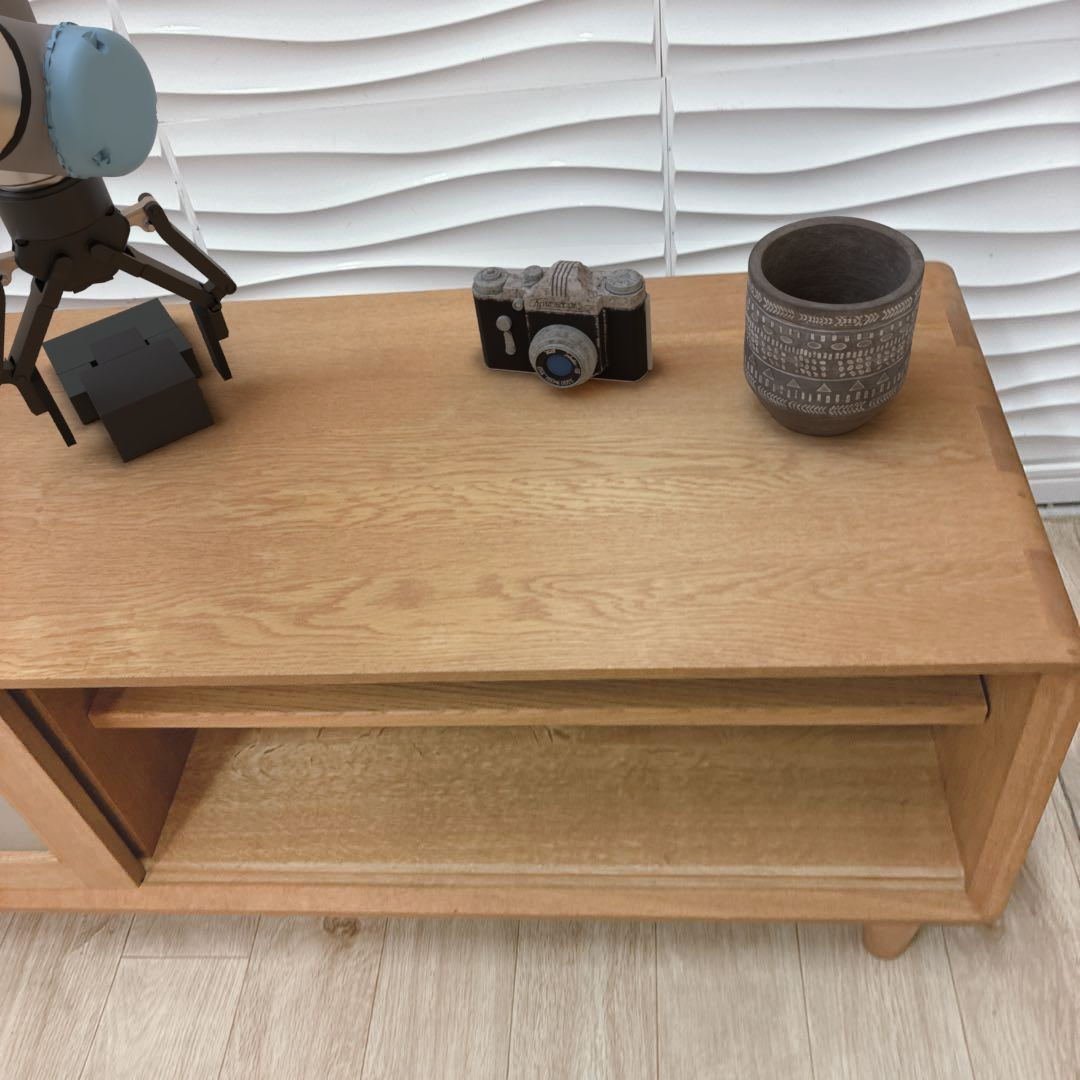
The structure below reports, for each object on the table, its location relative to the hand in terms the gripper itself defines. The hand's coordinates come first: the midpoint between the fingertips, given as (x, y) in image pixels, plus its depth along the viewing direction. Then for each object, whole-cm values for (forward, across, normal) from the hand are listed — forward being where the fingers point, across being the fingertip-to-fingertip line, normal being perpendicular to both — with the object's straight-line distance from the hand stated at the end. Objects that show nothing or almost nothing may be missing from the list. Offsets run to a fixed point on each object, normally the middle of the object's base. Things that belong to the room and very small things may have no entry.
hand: (147, 404), depth 90 cm
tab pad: (+2, 0, -2) cm, 3 cm away
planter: (+2, -45, +33) cm, 55 cm away
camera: (+2, -31, +17) cm, 35 cm away
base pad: (+2, 0, -9) cm, 9 cm away
